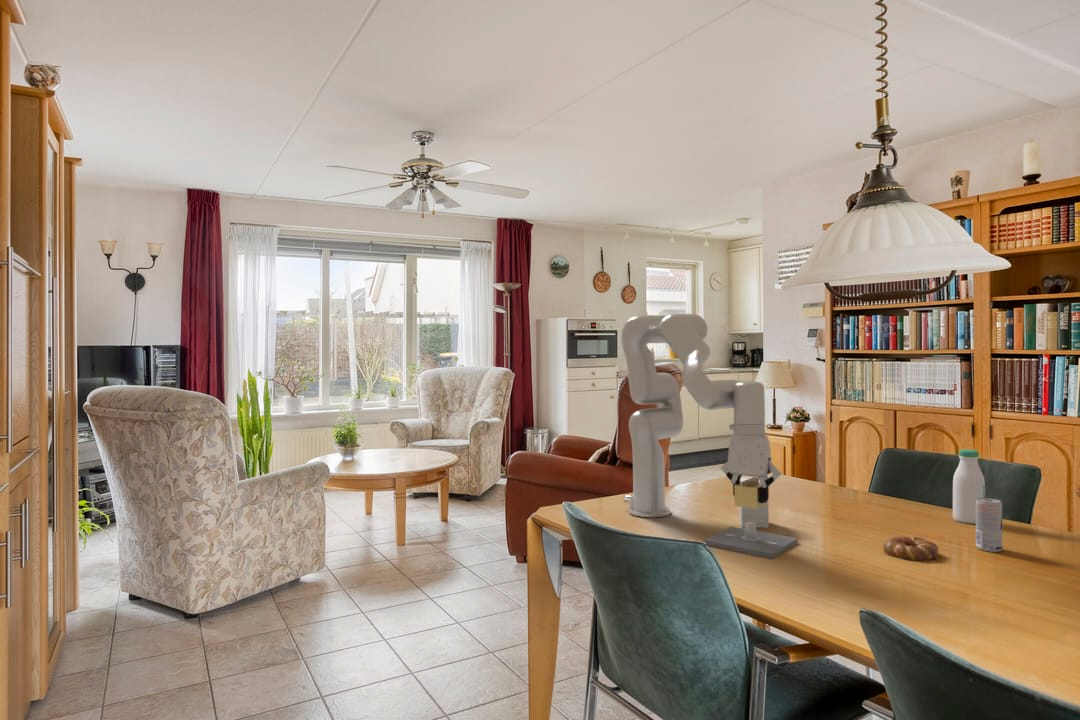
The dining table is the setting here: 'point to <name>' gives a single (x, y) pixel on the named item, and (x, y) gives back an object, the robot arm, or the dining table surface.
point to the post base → (751, 541)
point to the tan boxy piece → (748, 494)
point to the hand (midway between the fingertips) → (750, 499)
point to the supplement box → (754, 514)
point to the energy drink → (989, 524)
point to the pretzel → (911, 548)
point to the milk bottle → (967, 487)
